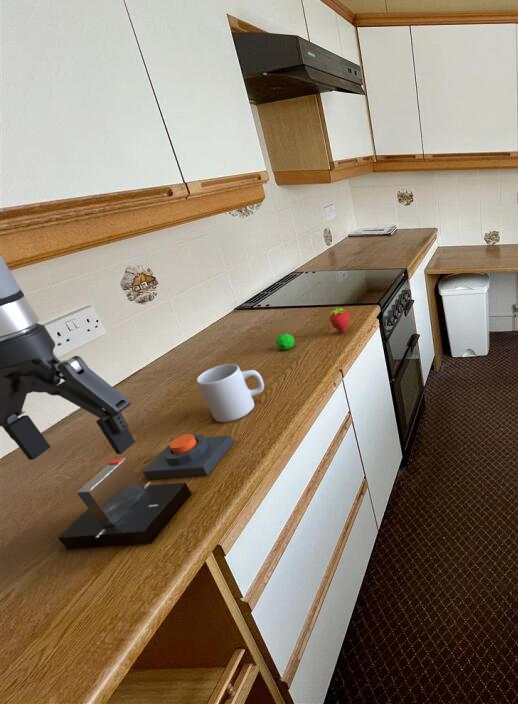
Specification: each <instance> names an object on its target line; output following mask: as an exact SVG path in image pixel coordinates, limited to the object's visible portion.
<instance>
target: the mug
mask: <svg viewBox="0 0 518 704" xmlns="http://www.w3.org/2000/svg"><path fill="white" fill-rule="evenodd" d="M250 377H255V378H256V380H257V382H258V386H257V387H256V388H253V389H251V388H250V389H249V387H248V385H247V383H246V380H245V379H247V378H250ZM196 384H197V385H198V388H199V390H200V392H201V394H202V396H203V398H204V400H205V402H206V405H207V406H208V408H209V410H210V413H211V416H212V417H213V419H214V420H215V421H216V422H218V423H230V422H234V421H236V420H239V419H241V418H244V417H245V416H247V415H248V414H249V413H251V412H252V410H254V407H255V401H254V399H253V397H255V396H257V395H259V394H261V393H262V392H263V391H264V388H265V383H264V380H263V377H262V375H261V374H260V373H259V372H258V371H257V370H254V369H249V370H248V369H247V370H242V371H241V369H240V367H239V366H238V365H237V364H235V363H225V364H220V365H217V366H214V367H211V368H209V369H207V370H205V371H204V372H202V373H201V374H200V375H198V376H197V378H196Z"/></svg>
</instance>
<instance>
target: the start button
mask: <svg viewBox="0 0 518 704" xmlns="http://www.w3.org/2000/svg"><path fill="white" fill-rule="evenodd" d="M193 435H194V434H191V433H187V434H182V435H179V436H177V437H176V438H175V439H173V440H172V441H171V442H170V444H169V445H170V448H171V450H172V451H173V453H174V454H181V453H184V452H187V451H189V450H190V449H192V448H193V447H194V446H195V445H196V444H197V441H196V439H195V438H194V436H193Z"/></svg>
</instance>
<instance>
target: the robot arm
mask: <svg viewBox="0 0 518 704" xmlns="http://www.w3.org/2000/svg"><path fill="white" fill-rule="evenodd" d="M39 321H40V317H39V316H38V314H37V312H36V311H35V309H34V308H33V307H32V305H31V303H30V301H29V300H28V299H27V297H26V295H25V294H24V291H23V290H22V288H21V287H20V284H19V283H18V281H17V280H16V278H15V277H14V275H13V274H12V271H11V270H10V268H9V267H8V265H7V263H6V262H5V260H4V258H3V257H2V255H1V254H0V427H2V428H3V430H4V431H5V432H6V434H7V435H8V436H9V438H10V439H11V440H13V441H14V442H15V444H16V445H17V446H18V448H19V449H20V450H21V451H22V452H23V454H24V455H25V457H27V459H28V461H31V460H36V459H37V458H38V457H40V456H41V455H42V454H44V453H45V452H47V451H48V450H49V449H51V448H52V446H51V445H50V444H49V442H48V441H47V439H46V438H45V437H44V435H43V434H42V433H41V431H40V430H39V428H38V426H36V424H35V423H34V422H33V420H32V419H31V417H30V415H24V414H25V413H26V411H24V410H23V409H24V405H25V401H26V398H27V396H28V394H31V393H39V394H41V393H46V394H48V395H50V396H59V397H60V398H63V399H64V400H66V401H68V402H70V403H72V404H74V405H75V406H77V407H79V408H80V409H82V410H84V411H86V412H88V413H89V414H92V415H93V416H95V417H97V418H99V419H97V420H96V421H95V423H96V424H97V426H98V427H99V429H100V430H101V432H102V434H103V435H104V437H105V438H106V440H107V441H108V443H109V444H110V446H111V448H112V449H113V450H114V452H115V454H116V455H122V454H123V453H124V452H126V451H127V450H128V449H129V448H130V447H131V446H132V445H134V444H135V443H136V440H135V439H134V437H133V435H132V433H131V432H130V430H129V424H128V422H127V421H126V419H125V418H124V415H123V414H122V412H123V411H125V410H126V409H127V408H128V407H129V406H131V405H132V402H131V400H129V399H128V398H127V397H126V396H124V395H123V394H122V393H120V392H119V391H118V390H117V389H116V388H115V387H113V386H112V385H110V384H109V383H108V381H106V380H104V379H103V378H102V377H101V376H100V375H98V374H97V373H96V372H94V371H93V370H92V369H91V368H89V366H88V365H87V363H86V361H84V359H83V358H82V357H81V356H79V355H74V356H72V357H70V358H68V359H65V360H60V359H58V358H57V357H56V356H55V355H54V354H53V353H54V349H55V348H56V342H55V341H54V339H53V337H52V336H51V334H50V333H49V331H48V329H47V327H45V325H44V324H41V323H39ZM61 380H63V381H61Z"/></svg>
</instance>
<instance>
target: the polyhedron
mask: <svg viewBox="0 0 518 704" xmlns="http://www.w3.org/2000/svg"><path fill="white" fill-rule="evenodd" d="M294 344H295V338H294V336H292V334H289V333H281V334H280V335H278V337H276V340H275V345H276V347H277V348H278V349H280V350H281V351H283V350H287V351H288V350H290V349H292V347H293V346H294Z"/></svg>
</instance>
